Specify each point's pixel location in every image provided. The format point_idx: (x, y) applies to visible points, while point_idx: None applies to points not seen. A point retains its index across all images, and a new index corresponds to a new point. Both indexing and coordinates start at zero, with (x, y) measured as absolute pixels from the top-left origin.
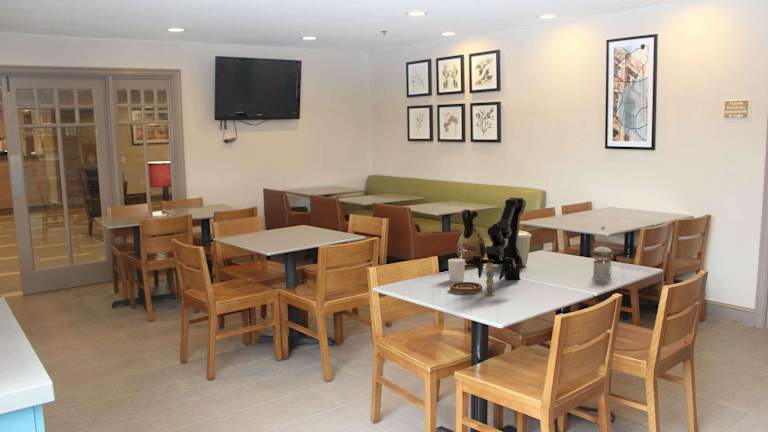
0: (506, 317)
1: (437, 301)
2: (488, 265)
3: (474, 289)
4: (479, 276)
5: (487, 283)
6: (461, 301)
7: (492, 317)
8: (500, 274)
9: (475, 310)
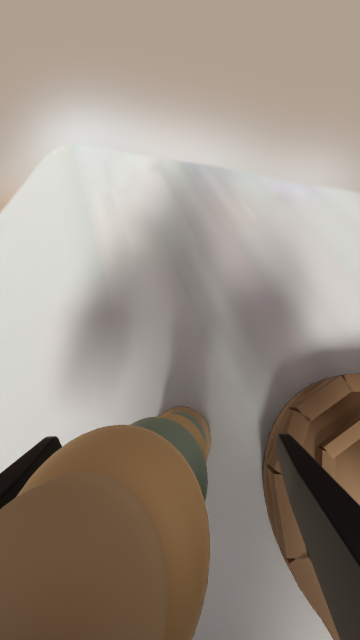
0: (47, 172)
1: (347, 212)
2: (108, 443)
3: (288, 423)
4: (281, 437)
5: (182, 416)
6: (255, 253)
7: (85, 157)
8: (8, 478)
9: (152, 185)
